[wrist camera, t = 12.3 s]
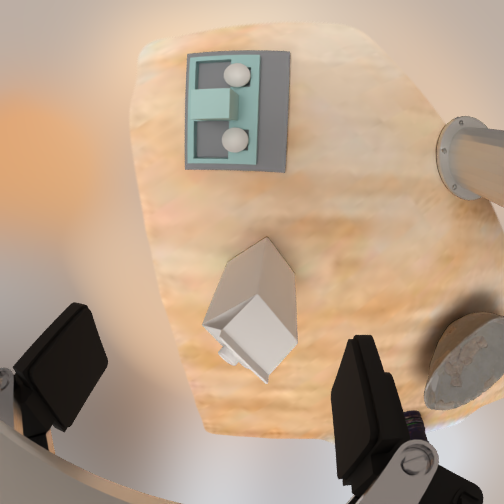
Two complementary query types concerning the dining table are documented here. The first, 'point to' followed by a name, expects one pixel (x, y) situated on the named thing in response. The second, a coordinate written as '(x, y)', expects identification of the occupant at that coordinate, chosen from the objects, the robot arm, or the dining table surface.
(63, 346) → the robot arm
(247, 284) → the milk carton
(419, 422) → the storage jar
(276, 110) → the board
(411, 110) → the dining table surface
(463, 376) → the ceramic bowl
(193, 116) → the teal frame with block
